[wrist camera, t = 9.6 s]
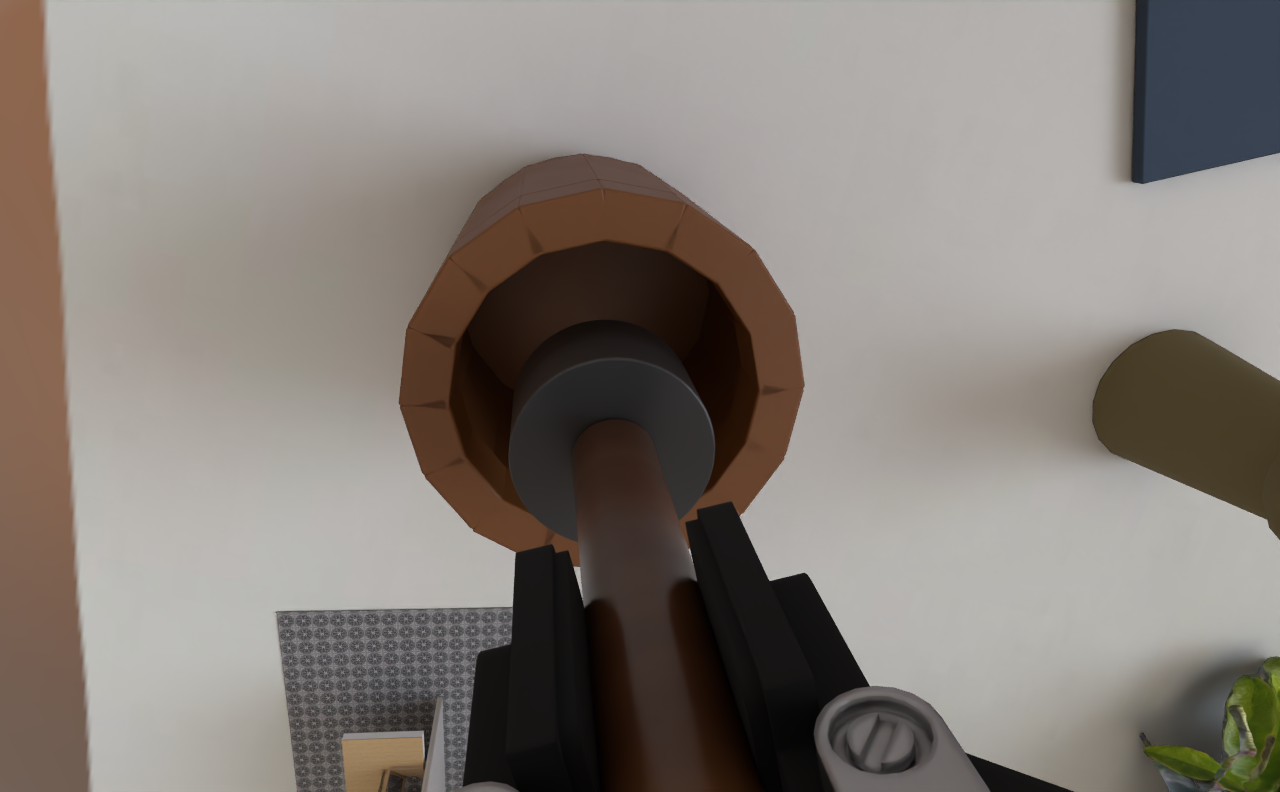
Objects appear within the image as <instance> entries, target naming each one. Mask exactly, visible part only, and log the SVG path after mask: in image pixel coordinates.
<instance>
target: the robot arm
mask: <svg viewBox="0 0 1280 792" xmlns="http://www.w3.org/2000/svg"><path fill="white" fill-rule="evenodd" d="M697 518H698V519H696V520H691V521H687V522H685V525H686V530H687V535H688V540H689V545H690V550H691V554H692V559H693V564H694V569H695V573H696V578H697V583H698V586H699V589H700V592H701V595H702V598H703V601H704V605H705V608H706V611H707V614H708V617H709V620H710V623H711V626H712V630H713V633H714V636H715V639H716V642H717V645H718V648H719V651H720V655H721V658H722V661H723V664H724V667H725V670H726V673H727V677H728V680H729V683H730V686H731V689H732V692H733V695H734V698H735V702H736V705H737V708H738V711H739V714H740V717H741V720H742V723H743V727H744V730H745V733H746V736H747V739H748V742H749V745H750V748H751V752H752V755H753V758H754V761H755V764H756V767H757V770H758V773H759V777H760V780H761V782H762V783H763V785H764V787H765V789H766V791H767V792H1073V791H1071V790H1068V789H1065V788H1062V787H1059V786H1057V785H1054V784H1051V783H1048V782H1045V781H1043V780H1040V779H1037V778H1034V777H1031V776H1029V775H1026V774H1023V773H1020V772H1017V771H1015V770H1012V769H1009V768H1006V767H1003V766H1001V765H998V764H995V763H992V762H989V761H987V760H984V759H981V758H978V757H975V756H973V755H970V754H967V753H965V752H964V750H963V749H962V747H961V746H960V744H959V743H958V741H957V740H956V738H955V737H954V735H953V734H952V732H951V731H950V729H949V728H948V726H947V725H946V723H945V722H944V720H943V718H942V717H941V716H940V715H939V714H938V713H937V711H936V710H935V709H934V708H933V707H932V706H931V705H930V704H929V703H927V702H926V701H924V700H923V699H921V698H919V697H918V696H916V695H914V694H912V693H909V692H906V691H903V690H900V689H897V688H892V687H880V686H871V687H870V686H869V684H868V682H867V680H866V679H865V677H864V675H863V673H862V671H861V669H860V668H859V666H858V664H857V662H856V660H855V659H854V657H853V655H852V653H851V651H850V650H849V648H848V646H847V644H846V642H845V641H844V639H843V637H842V635H841V633H840V631H839V630H838V628H837V626H836V624H835V622H834V621H833V619H832V617H831V615H830V613H829V612H828V610H827V608H826V606H825V604H824V603H823V601H822V599H821V597H820V595H819V594H818V592H817V590H816V588H815V586H814V584H813V583H812V581H811V579H810V578H809V576H808V575H807V574H805V573H802V574H798V575H793V576H789V577H785V578H781V579H777V580H773V581H769V579H768V577H767V575H766V573H765V571H764V569H763V567H762V564H761V562H760V560H759V558H758V556H757V554H756V552H755V549H754V547H753V545H752V543H751V541H750V539H749V537H748V534H747V532H746V530H745V528H744V526H743V524H742V522H741V519H740V517H739V515H738V513H737V511H736V509H735V507H734V504H733V503H732V501H730V502H726V503H722V504H717V505H713V506H709V507H705V508H701V509H697ZM452 792H601V788H600V777H599V765H598V754H597V742H596V731H595V720H594V708H593V697H592V685H591V674H590V663H589V651H588V640H587V628H586V617H585V608H584V604H583V600H582V597H581V593H580V589H579V586H578V582H577V578H576V575H575V571H574V567H573V564H572V560H571V557H570V554H569V551H568V550H566V551H562V552H558V553H556V552H555V549H554V546H553V545H552V544H550V545H545V546H541V547H537V548H533V549H529V550H525V551H520V552H517V553H516V557H515V577H514V596H513V616H512V636H511V644H509V645H505V646H500V647H496V648H492V649H488V650H484V651H480V653H479V654H478V656H477V661H476V669H475V678H474V687H473V697H472V706H471V715H470V724H469V733H468V742H467V751H466V760H465V769H464V778H463V787H462V788H459V789H456V790H454V791H452Z"/></svg>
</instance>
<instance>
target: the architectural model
mask: <svg viewBox="0 0 1280 792" xmlns="http://www.w3.org/2000/svg"><path fill="white" fill-rule="evenodd" d="M512 616H513V608H477V609H421V610H365V611H309V612H277V621H278V629H279V638H280V647H281V655H282V664H283V673H284V681H285V690H286V699H287V707H288V716H289V724H290V733H291V742H292V750H293V759H294V768H295V776H296V785H297V792H452V791H454V790H456V789H459V788H462V787H463V778H464V769H465V760H466V751H467V742H468V733H469V724H470V715H471V706H472V697H473V687H474V678H475V669H476V661H477V656H478V654H479V653H480V651H484V650H488V649H492V648H496V647H500V646H505V645H509V644H511V636H512Z"/></svg>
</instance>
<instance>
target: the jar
mask: <svg viewBox="0 0 1280 792" xmlns="http://www.w3.org/2000/svg"><path fill="white" fill-rule="evenodd" d="M593 320H616V321H623V322H627V323H632V324H634V325H637V326H640V327H643V328H644V329H646V330H648V331H650V332H652V333H654V334H655V335H657V336H658V337H659V338H661V339H662V340H663V341H664V342H665V343H666V344H668V345H669V346H670V347H671V348H672V350H673V351H674V352H675V353H676V355H677V356H678V357H679V359H680V361H681V362H682V364H683V366H684V368H685V370H686V371H687V373H688V375H689V377H690V379H691V381H692V383H693V385H694V387H695V389H696V391H697V392H698V394H699V396H700V398H701V400H702V402H703V404H704V406H705V408H706V410H707V412H708V415H709V417H710V419H711V423H712V426H713V430H714V437H715V459H714V465H713V470H712V473H711V476H710V479H709V482H708V484H707V486H706V488H705V490H704V492H703V494H702V495H701V497H700V498H699V500H698V501H697V503H696V504H695V505H694V507H693V508H692V509H691V510H690V511H689V512H688V513H687V514H686V515H685V516H684V517H683V518H682V519H681V520H680V521H679V522H680V525H681V528H682V531H683V534H684V538H685V541H686V544H687V547H688V549H689V548H690V545H689V540H688V535H687V530H686V525H685V522H687V521H691V520H696V519H698V518H697V509H701V508H705V507H709V506H713V505H717V504H722V503H726V502H730V501H732V503H733V504H734V507H735V509H736V511H737V513H738V515H739V516H740V515H741V514H742V513H744V511H745V510H746V509H747V507H748V506H749V505H750V503H751V502H752V501H753V499H754V498H755V497H756V495H757V494H758V493H759V491H760V490H761V489H762V487H763V486H764V485H765V483H766V482H767V481H768V479H769V478H770V477H771V476H772V474H773V473H774V472H775V470H776V469H777V468H778V466H779V465H780V464H781V462H782V461H783V460H784V456H785V455H786V452H787V448H788V444H789V441H790V437H791V434H792V430H793V426H794V423H795V419H796V415H797V412H798V408H799V405H800V401H801V397H802V394H803V388H804V386H805V385H804V378H803V370H802V363H801V356H800V348H799V341H798V333H797V326H796V319H795V315H794V312H793V310H792V309H791V307H790V305H789V304H788V302H787V301H786V299H785V297H784V296H783V294H782V293H781V291H780V289H779V288H778V286H777V285H776V283H775V281H774V280H773V278H772V276H771V275H770V273H769V272H768V270H767V268H766V267H765V265H764V264H763V262H762V260H761V259H760V257H759V255H758V254H757V252H756V251H755V250H754V249H753V248H752V247H751V246H750V245H749V244H747V243H746V242H745V241H743V240H742V239H741V238H739V237H738V236H737V235H735V234H734V233H733V232H732V231H730V230H729V229H728V228H726V227H725V226H724V225H722V224H721V223H720V222H718V221H717V220H716V219H715V218H713V217H712V216H711V215H709V214H708V213H707V212H705V211H704V210H703V209H701V208H700V207H699V206H697V205H696V204H695V203H694V202H692V201H691V200H690V199H688V198H687V197H686V196H684V195H683V194H682V193H680V192H679V191H677V190H676V189H674V188H673V187H671V186H670V185H668V184H667V183H665V182H664V181H662V180H661V179H660V178H658V177H657V176H655V175H654V174H652V173H651V172H649V171H648V170H646V169H645V168H643V167H642V166H640V165H638V164H635V163H629V162H624V161H621V160H617V159H613V158H609V157H601V156H593V155H588V154H583V155H582V154H577V155H572V156H565V157H559V158H553V159H550V160H546V161H543V162H539V163H536V164H532V165H528V166H527V167H524V168H522V169H521V170H520V171H518V172H517V173H515V174H514V175H512V176H511V177H509V178H507V179H506V180H504V181H503V182H502V183H500V184H499V185H498V186H497V187H496V188H495V189H493V190H492V191H491V192H489V193H488V194H487V195H485V196H484V197H483V198H481V200H480V201H479V202H478V203H477V205H476V207H475V209H474V210H473V212H472V214H471V215H470V217H469V219H468V221H467V222H466V224H465V226H464V227H463V229H462V231H461V233H460V234H459V236H458V238H457V239H456V241H455V243H454V245H453V246H452V248H451V250H450V252H449V253H448V255H447V257H446V259H445V260H444V262H443V264H442V266H441V267H440V269H439V271H438V273H437V274H436V276H435V278H434V280H433V281H432V283H431V285H430V287H429V289H428V290H427V292H426V294H425V296H424V297H423V299H422V301H421V303H420V304H419V306H418V308H417V310H416V312H415V313H414V315H413V317H412V319H411V320H410V322H409V324H408V327H407V329H406V337H405V347H404V357H403V367H402V377H401V387H400V397H399V405H400V409H401V412H402V415H403V418H404V421H405V424H406V427H407V430H408V433H409V436H410V438H411V441H412V444H413V447H414V450H415V453H416V456H417V459H418V462H419V465H420V468H421V471H422V473H423V474H424V475H425V478H426V479H427V480H428V481H429V482H430V483H431V485H432V486H433V487H434V488H435V489H436V490H437V491H438V492H439V493H440V495H441V496H442V497H443V498H444V499H445V500H446V501H447V502H448V503H449V505H450V506H451V507H452V508H453V509H454V510H455V511H456V512H457V513H458V514H459V516H460V517H461V518H462V519H463V520H464V521H465V522H466V523H467V524H468V526H469V527H470V528H472V529H473V531H474V532H476V533H478V534H480V535H482V536H484V537H486V538H488V539H490V540H492V541H494V542H496V543H498V544H500V545H502V546H504V547H506V548H508V549H510V550H512V551H514V552H516V553H517V552H520V551H525V550H529V549H533V548H537V547H541V546H545V545H550V544H552V545H553V546H554V549H555V552H556V553H558V552H562V551H566V550H568V551H569V554H570V557H571V560H572V564H573V566H576V567H580V559H579V548H578V542H576V541H572V540H569V539H567V538H565V537H563V536H560V535H558V534H557V533H555V532H553V531H552V530H550V529H548V528H547V527H546V526H544V525H543V524H542V523H541V522H539V521H538V520H537V519H536V518H535V517H534V516H533V515H532V514H531V513H530V512H529V510H528V509H527V508H526V506H525V505H524V504H523V502H522V501H521V499H520V497H519V495H518V493H517V492H516V489H515V487H514V484H513V481H512V478H511V473H510V468H509V456H508V454H509V441H510V430H511V418H512V406H513V394H514V390H515V385H516V382H517V379H518V376H519V374H520V372H521V370H522V368H523V366H524V364H525V362H526V361H527V360H528V358H529V357H530V355H531V354H532V353H533V352H534V351H535V350H536V349H537V348H538V347H539V345H540V344H542V343H543V342H544V341H545V340H547V339H548V338H549V337H551V336H552V335H554V334H555V333H557V332H559V331H560V330H563V329H565V328H567V327H570V326H572V325H575V324H579V323H582V322H587V321H593Z"/></svg>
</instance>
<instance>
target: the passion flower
mask: <svg viewBox="0 0 1280 792" xmlns="http://www.w3.org/2000/svg"><path fill="white" fill-rule="evenodd" d="M1140 738H1141V739H1142V741H1143V743H1144V744H1145V746H1146V748H1144V752H1145V754H1146V755H1147V756H1148V757H1150V758H1152V760H1153V762H1154V763H1155V765H1156V767H1157V769H1158V770H1159V772H1160V773H1161V775H1162V777H1163V779H1164V781H1165V783H1166V785H1167V787H1168V789H1169V791H1170V792H1207V791H1209V790H1221V791H1222V792H1280V657H1277V656H1275V657H1270V658H1267V660H1266V661H1265V662H1264V664H1263V665H1262V667H1261V669H1260V671H1259V673H1257V674H1255V675H1244V676H1242V677H1241V678H1239V679H1237V680H1236V683H1235V684H1234V685H1233V687H1232V689H1231V691H1230V693H1229V696H1228V698H1227V701H1226V704H1225V716H1224V721H1223V730H1222V749H1221V756H1222V759H1221V761H1220V762H1217V761H1215V760H1214V759H1213V758H1212V757H1210V756H1209V755H1208V754H1207V753H1205V752H1202V751H1196V750H1194V749H1192V748H1190V747H1187V746H1175V745H1159V746H1151V744H1150V742H1149V741H1148V740H1147V739H1146V736H1145V735H1144V733H1142V734H1141V735H1140ZM1193 780H1194V781H1195V782H1197V783H1198V784H1199V787H1198V786H1197V785H1196V784H1195V783H1194V781H1193Z"/></svg>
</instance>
